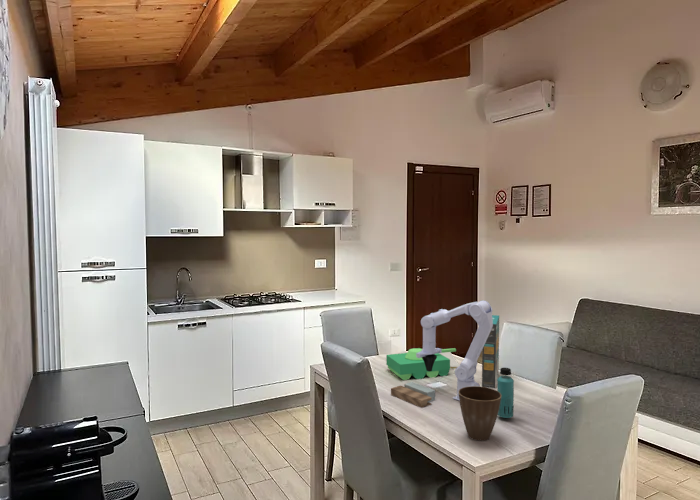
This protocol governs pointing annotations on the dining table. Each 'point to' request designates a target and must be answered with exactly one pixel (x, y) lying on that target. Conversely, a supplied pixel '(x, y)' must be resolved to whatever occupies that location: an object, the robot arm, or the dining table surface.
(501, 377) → the beverage bottle
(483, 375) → the cake mix box
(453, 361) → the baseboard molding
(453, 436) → the dining table surface
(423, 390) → the tongue plank
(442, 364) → the toy tank
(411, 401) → the grooved board
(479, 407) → the plant pot
